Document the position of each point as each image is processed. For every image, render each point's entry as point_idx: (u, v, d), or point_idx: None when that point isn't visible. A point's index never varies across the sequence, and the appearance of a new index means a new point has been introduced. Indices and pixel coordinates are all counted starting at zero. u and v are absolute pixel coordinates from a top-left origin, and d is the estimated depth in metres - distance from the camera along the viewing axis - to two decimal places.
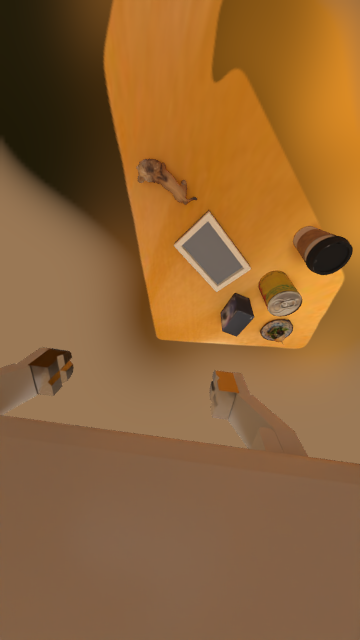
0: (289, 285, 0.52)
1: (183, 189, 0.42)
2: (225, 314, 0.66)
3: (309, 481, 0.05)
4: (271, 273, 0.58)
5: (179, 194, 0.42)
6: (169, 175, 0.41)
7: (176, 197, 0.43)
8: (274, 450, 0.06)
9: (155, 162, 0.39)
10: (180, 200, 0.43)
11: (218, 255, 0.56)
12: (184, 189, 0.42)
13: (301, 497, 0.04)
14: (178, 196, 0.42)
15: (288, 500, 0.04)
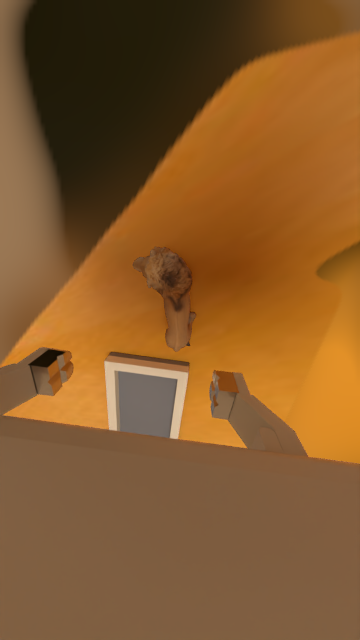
0: None
1: (188, 339, 0.22)
2: None
3: (309, 481, 0.05)
4: None
5: (177, 343, 0.21)
6: (187, 307, 0.20)
7: (169, 339, 0.21)
8: (274, 450, 0.06)
9: (186, 275, 0.18)
10: (170, 346, 0.22)
11: (152, 412, 0.34)
12: (188, 339, 0.22)
13: (301, 497, 0.04)
14: (173, 342, 0.21)
15: (288, 500, 0.04)
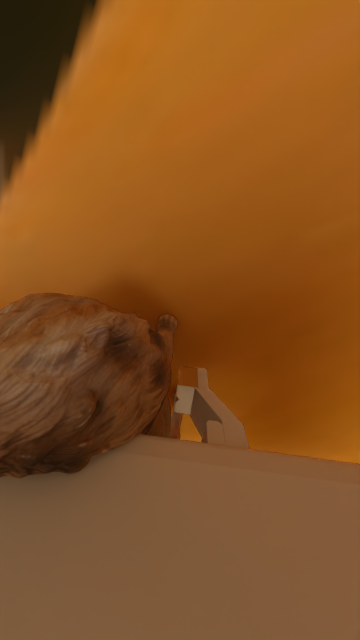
0: None
1: None
2: None
3: (309, 481, 0.05)
4: None
5: None
6: None
7: None
8: (216, 442, 0.06)
9: (145, 388, 0.05)
10: None
11: None
12: None
13: (301, 497, 0.04)
14: None
15: (288, 500, 0.04)
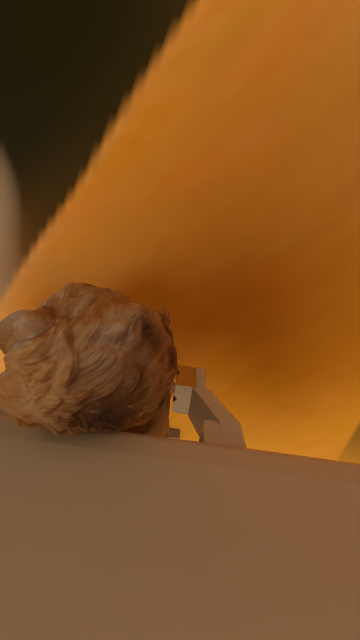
0: None
1: None
2: None
3: (309, 481, 0.05)
4: None
5: None
6: (162, 419, 0.08)
7: None
8: (213, 442, 0.06)
9: (165, 367, 0.06)
10: None
11: None
12: None
13: (301, 497, 0.04)
14: None
15: (288, 500, 0.04)
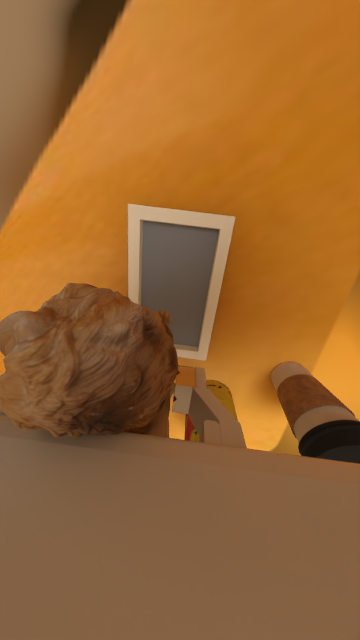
0: None
1: None
2: None
3: (309, 481, 0.05)
4: (220, 385, 0.34)
5: None
6: (163, 420, 0.08)
7: None
8: (213, 442, 0.06)
9: (166, 369, 0.06)
10: None
11: (181, 298, 0.28)
12: None
13: (301, 497, 0.04)
14: None
15: (288, 500, 0.04)
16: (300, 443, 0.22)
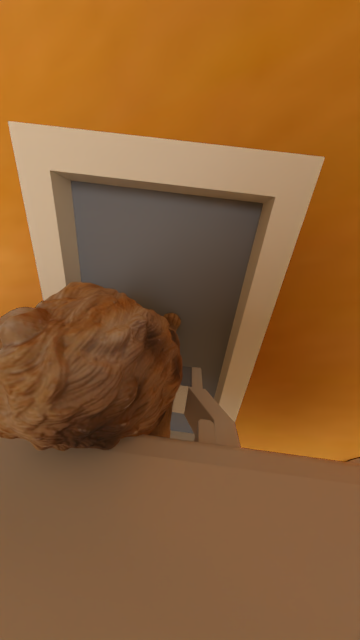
0: None
1: None
2: None
3: (309, 481, 0.05)
4: None
5: None
6: (162, 431, 0.08)
7: None
8: (207, 441, 0.06)
9: (168, 380, 0.06)
10: None
11: None
12: None
13: (301, 497, 0.04)
14: None
15: (288, 500, 0.04)
16: None
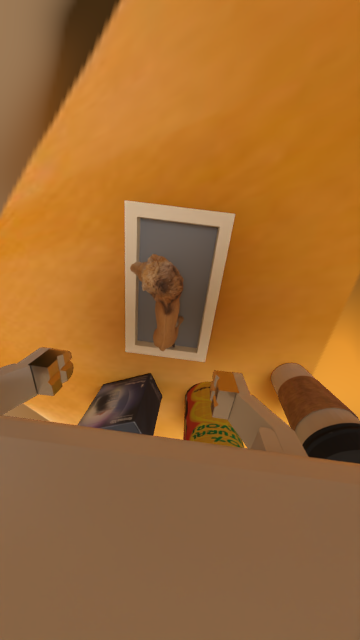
0: None
1: (173, 341, 0.23)
2: (105, 400, 0.31)
3: (309, 481, 0.05)
4: None
5: (163, 343, 0.23)
6: (176, 311, 0.22)
7: (156, 339, 0.23)
8: (274, 450, 0.06)
9: (178, 283, 0.20)
10: (157, 346, 0.23)
11: (180, 298, 0.27)
12: (174, 340, 0.24)
13: (301, 497, 0.04)
14: (159, 342, 0.23)
15: (288, 500, 0.04)
16: None
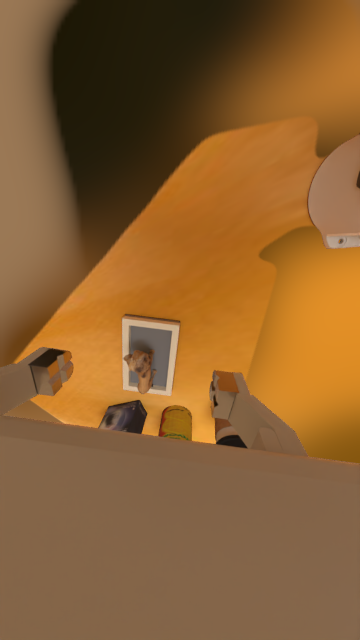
0: None
1: (148, 389, 0.43)
2: (111, 418, 0.50)
3: (309, 481, 0.05)
4: (182, 409, 0.53)
5: (142, 391, 0.42)
6: (148, 375, 0.41)
7: (138, 389, 0.42)
8: (274, 450, 0.06)
9: (147, 364, 0.39)
10: None
11: (154, 360, 0.47)
12: (149, 388, 0.44)
13: (301, 497, 0.04)
14: (140, 391, 0.42)
15: (288, 500, 0.04)
16: None
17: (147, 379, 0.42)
